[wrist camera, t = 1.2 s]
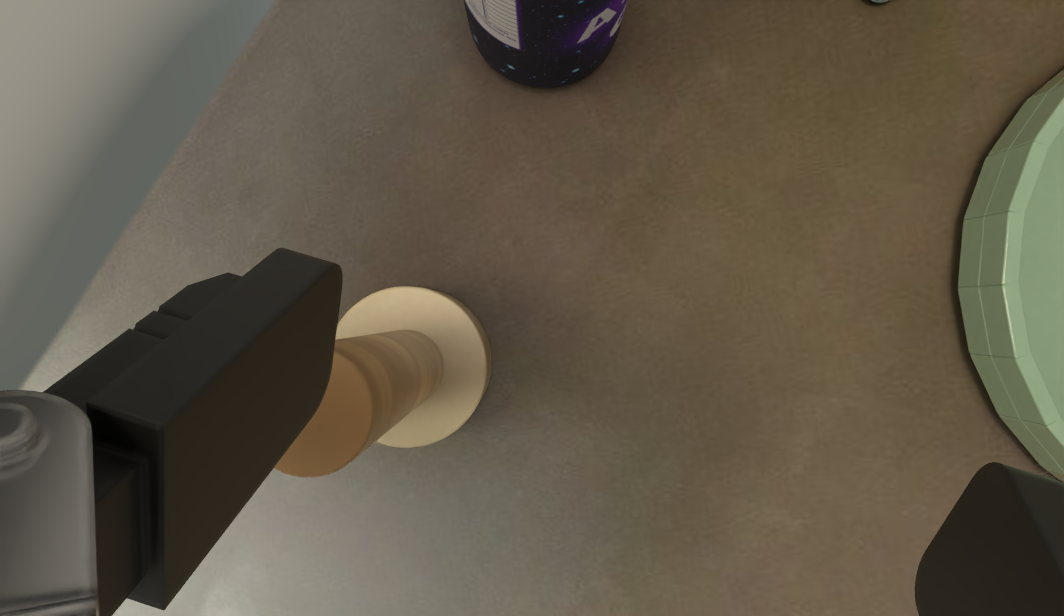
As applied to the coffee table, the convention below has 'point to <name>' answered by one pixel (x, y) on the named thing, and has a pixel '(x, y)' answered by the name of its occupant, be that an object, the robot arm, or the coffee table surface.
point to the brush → (395, 379)
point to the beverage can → (545, 37)
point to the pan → (1021, 275)
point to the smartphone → (879, 1)
